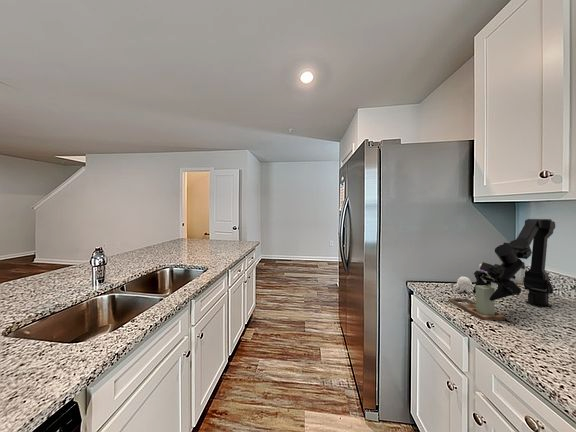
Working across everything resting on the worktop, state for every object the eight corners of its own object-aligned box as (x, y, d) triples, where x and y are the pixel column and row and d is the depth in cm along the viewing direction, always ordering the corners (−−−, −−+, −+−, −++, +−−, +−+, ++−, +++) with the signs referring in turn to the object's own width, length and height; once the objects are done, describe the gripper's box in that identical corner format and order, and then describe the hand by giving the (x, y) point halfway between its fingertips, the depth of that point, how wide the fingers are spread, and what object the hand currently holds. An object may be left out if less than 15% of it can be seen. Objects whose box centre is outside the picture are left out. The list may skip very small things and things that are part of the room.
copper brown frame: (466, 300, 126) (466, 297, 126) (504, 319, 104) (504, 316, 104) (448, 301, 126) (448, 298, 126) (482, 320, 104) (482, 316, 104)
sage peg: (486, 313, 111) (486, 285, 111) (494, 317, 106) (494, 288, 106) (475, 313, 111) (475, 285, 111) (483, 317, 106) (483, 288, 106)
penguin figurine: (458, 276, 138) (453, 273, 149) (458, 293, 137) (454, 288, 148) (472, 277, 135) (466, 274, 146) (473, 294, 134) (467, 290, 146)
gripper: (477, 252, 117) (453, 277, 118) (513, 260, 99) (484, 289, 99) (495, 269, 118) (471, 294, 118) (534, 280, 99) (505, 309, 99)
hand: (481, 296), depth 108 cm, fingers open, 9 cm apart
